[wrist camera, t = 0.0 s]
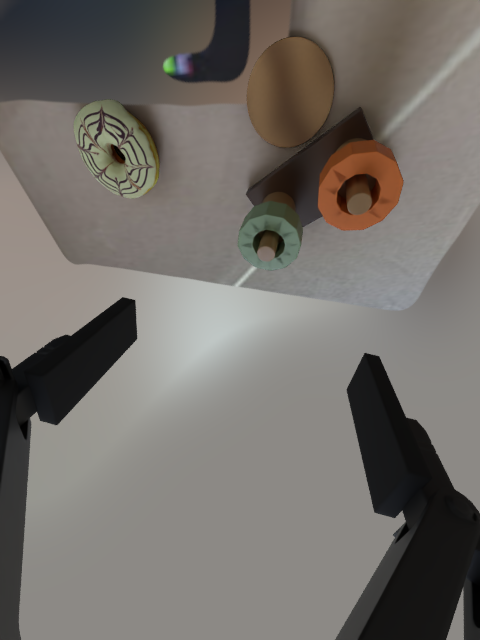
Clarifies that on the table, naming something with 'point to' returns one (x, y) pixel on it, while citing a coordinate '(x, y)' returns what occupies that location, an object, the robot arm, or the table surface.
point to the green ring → (275, 220)
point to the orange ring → (349, 163)
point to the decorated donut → (131, 138)
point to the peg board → (313, 180)
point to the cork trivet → (290, 92)
